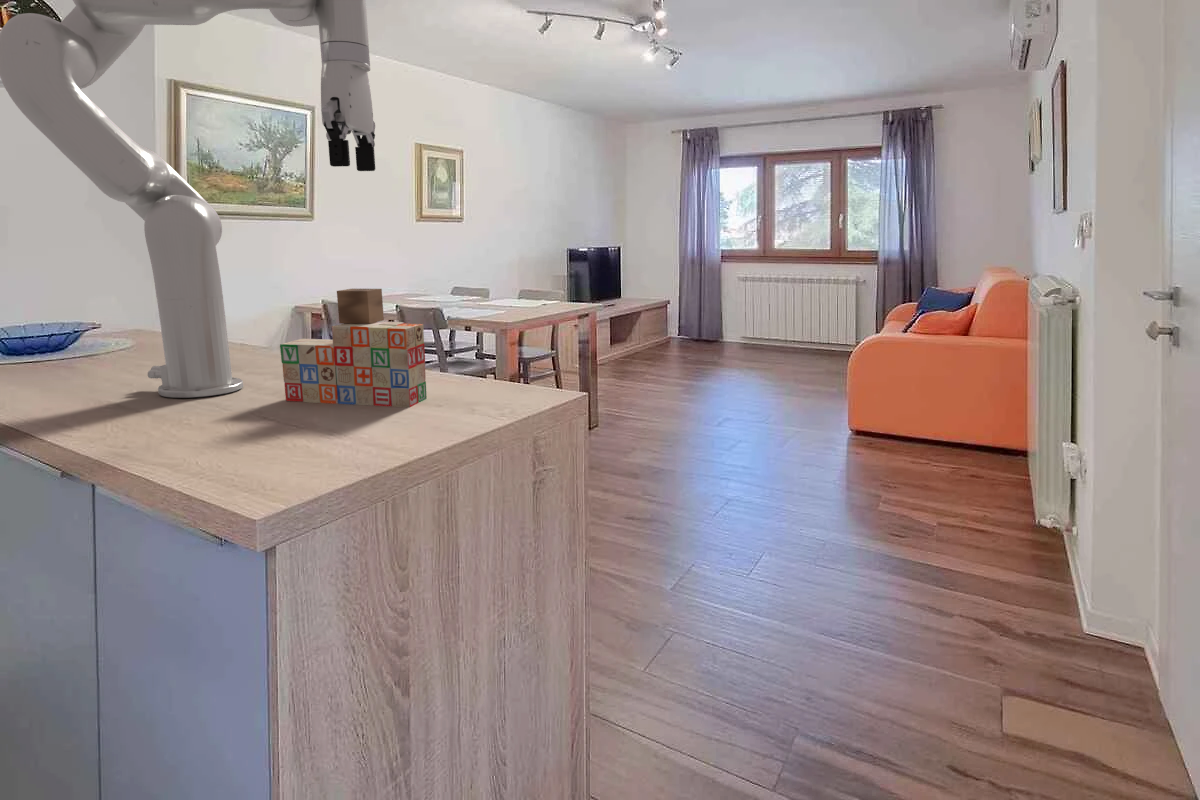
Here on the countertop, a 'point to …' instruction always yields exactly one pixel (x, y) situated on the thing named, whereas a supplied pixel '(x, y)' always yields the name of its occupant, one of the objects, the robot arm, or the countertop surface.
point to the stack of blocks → (358, 366)
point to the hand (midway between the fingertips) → (353, 168)
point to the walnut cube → (360, 306)
